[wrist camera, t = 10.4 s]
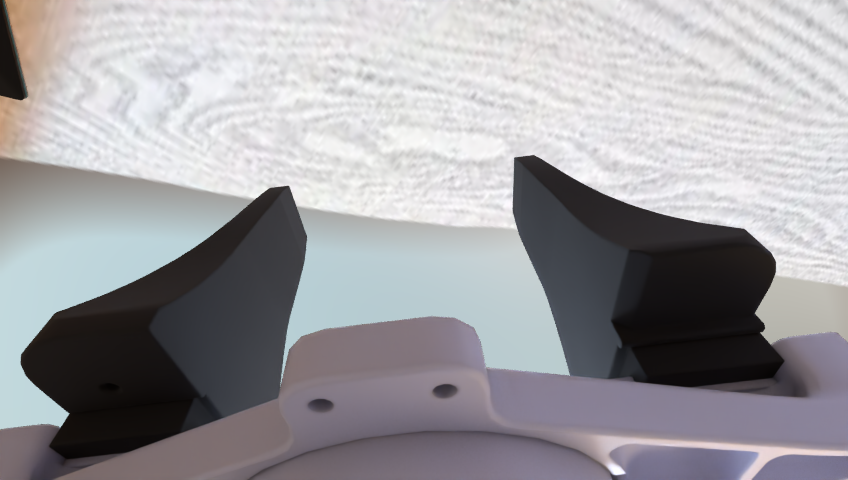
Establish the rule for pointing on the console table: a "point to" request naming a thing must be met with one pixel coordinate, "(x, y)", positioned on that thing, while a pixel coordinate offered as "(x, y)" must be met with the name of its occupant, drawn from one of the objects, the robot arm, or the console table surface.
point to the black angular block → (10, 60)
